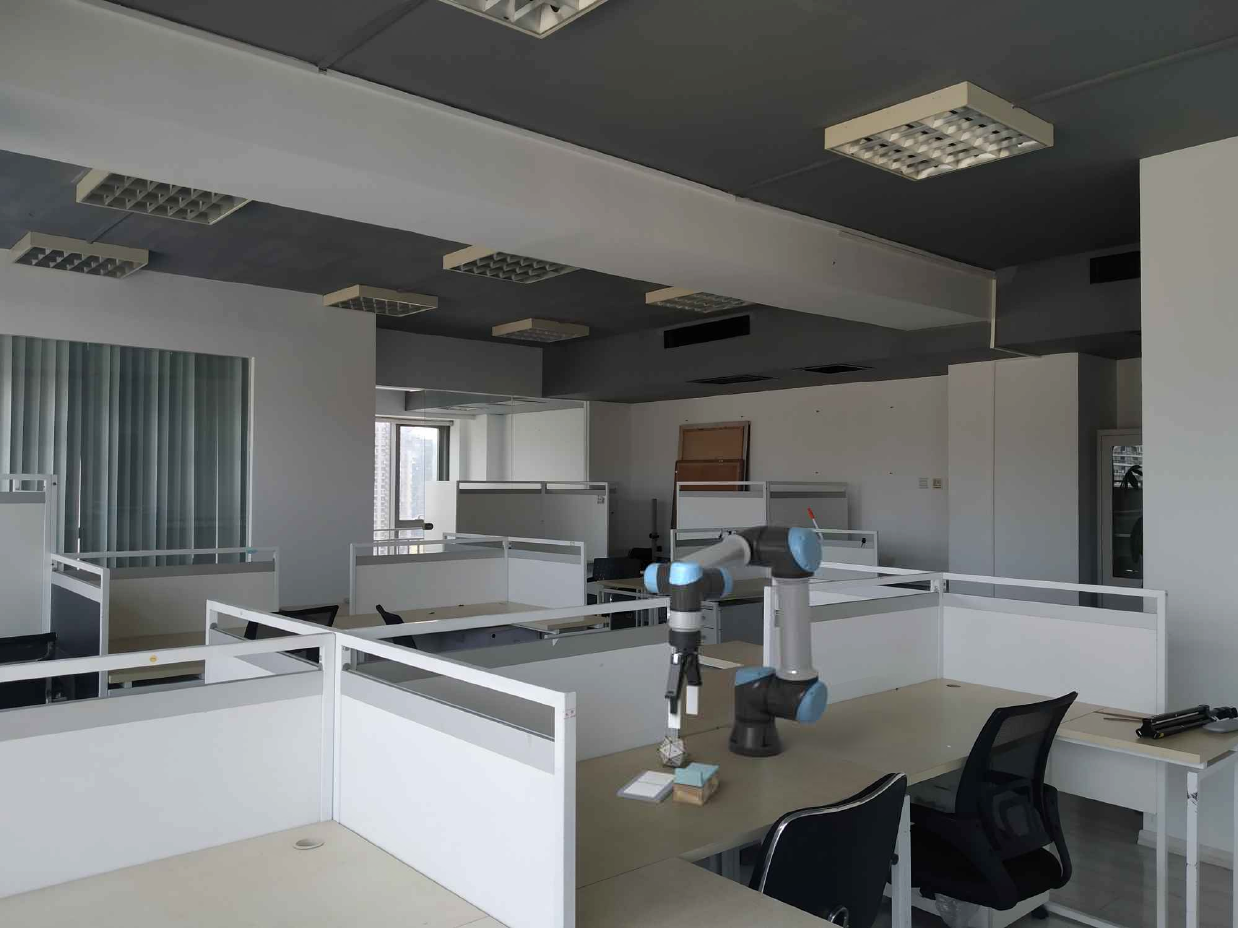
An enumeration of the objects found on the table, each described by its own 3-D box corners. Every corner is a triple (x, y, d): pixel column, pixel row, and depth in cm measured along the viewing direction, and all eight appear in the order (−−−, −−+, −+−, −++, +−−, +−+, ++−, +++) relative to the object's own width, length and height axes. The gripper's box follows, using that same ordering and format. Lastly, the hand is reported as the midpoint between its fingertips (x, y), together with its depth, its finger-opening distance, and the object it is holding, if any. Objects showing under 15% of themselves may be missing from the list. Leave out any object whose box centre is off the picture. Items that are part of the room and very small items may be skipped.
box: (691, 782, 228) (692, 766, 228) (718, 786, 225) (718, 770, 225) (673, 800, 215) (673, 783, 215) (701, 804, 212) (701, 787, 213)
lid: (692, 765, 228) (692, 752, 228) (718, 769, 225) (718, 756, 226) (673, 782, 215) (674, 769, 215) (701, 786, 213) (702, 773, 213)
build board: (643, 773, 234) (643, 769, 234) (683, 779, 230) (683, 775, 230) (617, 796, 218) (617, 791, 218) (659, 802, 213) (659, 797, 213)
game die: (674, 783, 239) (668, 759, 233) (653, 764, 245) (647, 741, 239) (698, 762, 242) (693, 738, 237) (677, 744, 248) (672, 721, 243)
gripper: (685, 620, 222) (684, 706, 221) (651, 635, 199) (650, 731, 198) (715, 622, 219) (713, 709, 219) (684, 638, 196) (682, 735, 195)
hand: (683, 720), depth 208 cm, fingers open, 13 cm apart
